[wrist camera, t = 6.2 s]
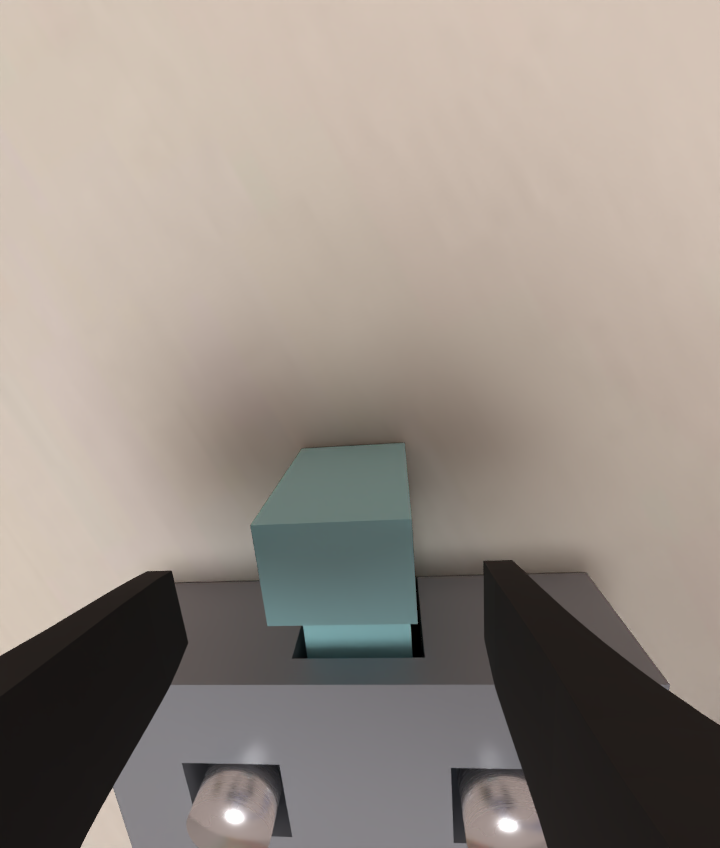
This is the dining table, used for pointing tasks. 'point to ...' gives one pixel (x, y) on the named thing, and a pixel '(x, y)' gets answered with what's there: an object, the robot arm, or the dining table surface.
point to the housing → (338, 718)
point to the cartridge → (341, 552)
